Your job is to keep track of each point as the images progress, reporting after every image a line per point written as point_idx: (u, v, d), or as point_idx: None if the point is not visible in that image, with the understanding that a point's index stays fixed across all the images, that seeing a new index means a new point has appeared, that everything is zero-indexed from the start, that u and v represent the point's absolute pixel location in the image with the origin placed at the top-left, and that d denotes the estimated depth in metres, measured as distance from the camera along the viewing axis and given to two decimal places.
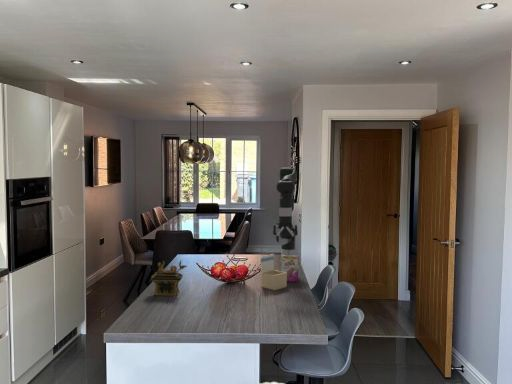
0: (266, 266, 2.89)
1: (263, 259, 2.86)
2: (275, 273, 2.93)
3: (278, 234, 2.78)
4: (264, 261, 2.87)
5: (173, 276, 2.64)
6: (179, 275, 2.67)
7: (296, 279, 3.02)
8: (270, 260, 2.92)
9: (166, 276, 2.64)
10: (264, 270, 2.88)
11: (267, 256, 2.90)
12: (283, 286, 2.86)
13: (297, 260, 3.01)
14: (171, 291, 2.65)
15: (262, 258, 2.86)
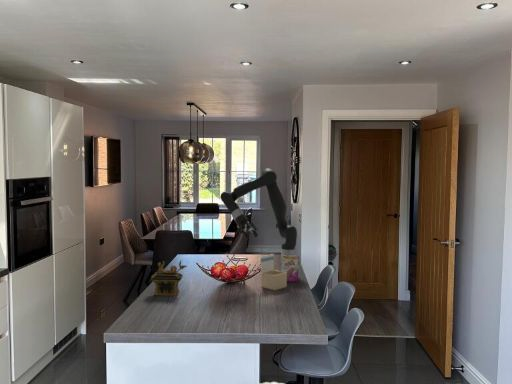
0: (266, 266, 2.89)
1: (263, 259, 2.86)
2: (275, 273, 2.93)
3: (251, 231, 3.03)
4: (264, 261, 2.87)
5: (173, 276, 2.64)
6: (179, 275, 2.67)
7: (296, 279, 3.02)
8: (270, 260, 2.92)
9: (166, 276, 2.64)
10: (264, 270, 2.88)
11: (267, 256, 2.90)
12: (283, 286, 2.86)
13: (297, 260, 3.01)
14: (171, 291, 2.65)
15: (262, 258, 2.86)
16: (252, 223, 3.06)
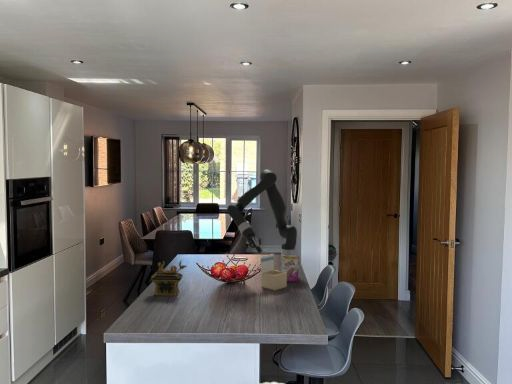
0: (266, 266, 2.89)
1: (263, 259, 2.86)
2: (275, 273, 2.93)
3: None
4: (264, 261, 2.87)
5: (173, 276, 2.64)
6: (179, 275, 2.67)
7: (296, 279, 3.02)
8: (270, 260, 2.92)
9: (166, 276, 2.64)
10: (264, 270, 2.88)
11: (267, 256, 2.90)
12: (283, 286, 2.86)
13: (297, 260, 3.01)
14: (171, 291, 2.65)
15: (262, 258, 2.86)
16: (260, 239, 3.01)
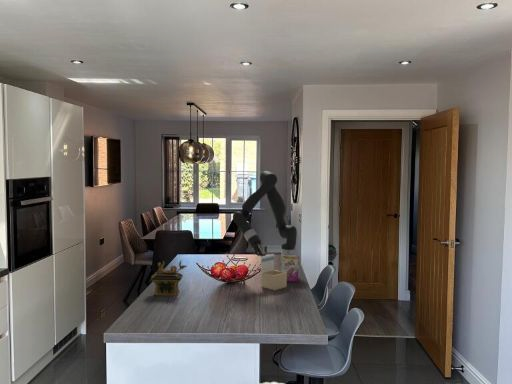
0: (266, 266, 2.89)
1: (263, 259, 2.86)
2: (275, 273, 2.93)
3: None
4: (264, 261, 2.87)
5: (173, 276, 2.64)
6: (179, 275, 2.67)
7: (296, 279, 3.02)
8: (271, 260, 2.92)
9: (166, 276, 2.64)
10: (264, 270, 2.88)
11: (268, 256, 2.89)
12: (283, 286, 2.86)
13: (297, 260, 3.01)
14: (171, 291, 2.65)
15: (263, 258, 2.86)
16: (266, 247, 2.97)
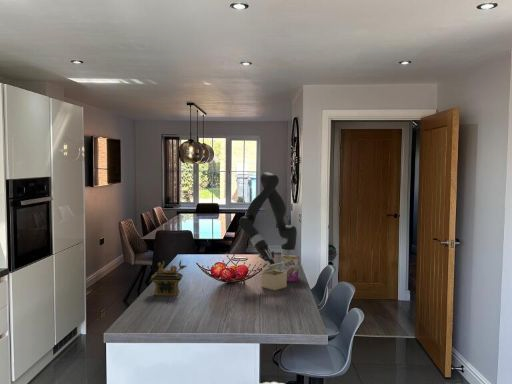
0: (269, 269, 2.87)
1: (271, 266, 2.82)
2: (275, 273, 2.93)
3: None
4: (271, 267, 2.84)
5: (173, 276, 2.64)
6: (179, 275, 2.67)
7: (296, 279, 3.02)
8: (277, 265, 2.89)
9: (166, 276, 2.64)
10: (265, 271, 2.87)
11: (277, 264, 2.85)
12: (283, 286, 2.86)
13: (297, 260, 3.01)
14: (171, 291, 2.65)
15: (271, 266, 2.81)
16: (273, 252, 2.94)
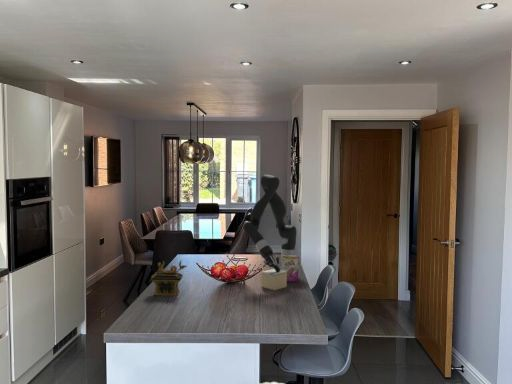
0: None
1: None
2: None
3: None
4: None
5: (173, 276, 2.64)
6: (179, 275, 2.67)
7: (296, 279, 3.02)
8: None
9: (166, 276, 2.64)
10: None
11: None
12: (283, 286, 2.86)
13: (297, 260, 3.01)
14: (171, 291, 2.65)
15: None
16: (278, 257, 2.91)
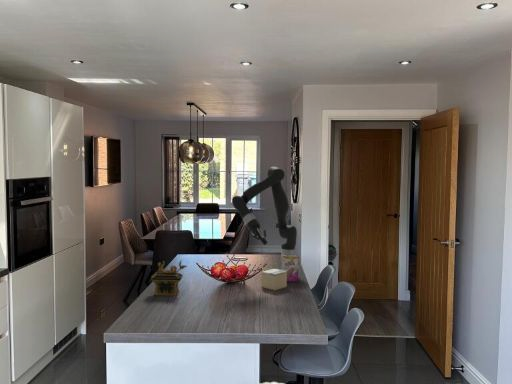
0: None
1: None
2: None
3: None
4: None
5: (173, 276, 2.64)
6: (179, 275, 2.67)
7: (296, 279, 3.02)
8: None
9: (166, 276, 2.64)
10: None
11: None
12: (283, 286, 2.86)
13: (297, 260, 3.01)
14: (171, 291, 2.65)
15: None
16: (265, 231, 2.98)
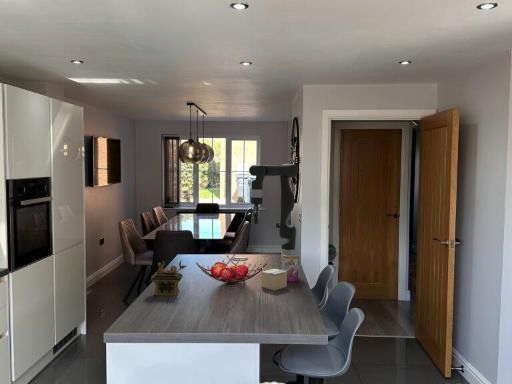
0: None
1: None
2: None
3: (254, 216, 2.98)
4: None
5: (173, 276, 2.64)
6: (179, 275, 2.67)
7: (296, 279, 3.02)
8: None
9: (166, 276, 2.64)
10: None
11: None
12: (283, 286, 2.86)
13: (297, 260, 3.01)
14: (171, 291, 2.65)
15: None
16: None
